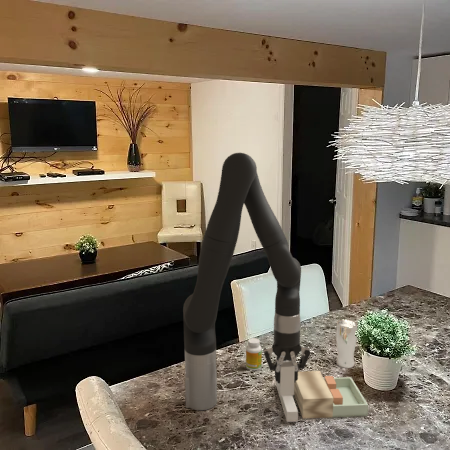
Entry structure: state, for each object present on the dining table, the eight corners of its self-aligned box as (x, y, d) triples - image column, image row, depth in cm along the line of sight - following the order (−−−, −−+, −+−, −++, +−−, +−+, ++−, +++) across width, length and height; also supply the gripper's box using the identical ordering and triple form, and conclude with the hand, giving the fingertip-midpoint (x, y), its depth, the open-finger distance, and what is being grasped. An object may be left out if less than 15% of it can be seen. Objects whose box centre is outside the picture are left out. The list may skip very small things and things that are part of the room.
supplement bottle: (260, 371, 154) (260, 344, 152) (244, 369, 155) (244, 343, 153) (262, 363, 159) (262, 337, 157) (247, 362, 160) (247, 336, 158)
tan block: (302, 418, 128) (303, 399, 127) (292, 389, 143) (292, 371, 141) (332, 417, 128) (333, 398, 127) (319, 388, 143) (319, 370, 142)
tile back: (327, 383, 136) (336, 383, 136) (324, 376, 141) (332, 376, 141) (327, 397, 137) (335, 397, 137) (324, 389, 142) (332, 389, 142)
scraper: (285, 421, 125) (285, 382, 123) (273, 383, 145) (274, 348, 142) (299, 421, 125) (300, 381, 123) (286, 382, 145) (286, 347, 143)
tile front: (334, 397, 129) (342, 397, 129) (329, 389, 133) (338, 388, 134) (333, 412, 130) (342, 411, 130) (329, 403, 134) (337, 402, 134)
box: (332, 417, 128) (333, 406, 128) (319, 388, 143) (319, 378, 142) (367, 416, 129) (368, 404, 128) (350, 387, 143) (351, 377, 143)
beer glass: (357, 361, 160) (359, 321, 157) (353, 370, 154) (355, 328, 151) (337, 357, 163) (338, 318, 160) (333, 366, 157) (334, 325, 154)
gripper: (308, 320, 134) (307, 374, 138) (260, 322, 134) (260, 375, 137) (314, 331, 127) (313, 387, 130) (264, 333, 126) (263, 389, 130)
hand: (286, 381), depth 134 cm, fingers closed on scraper, 4 cm apart
